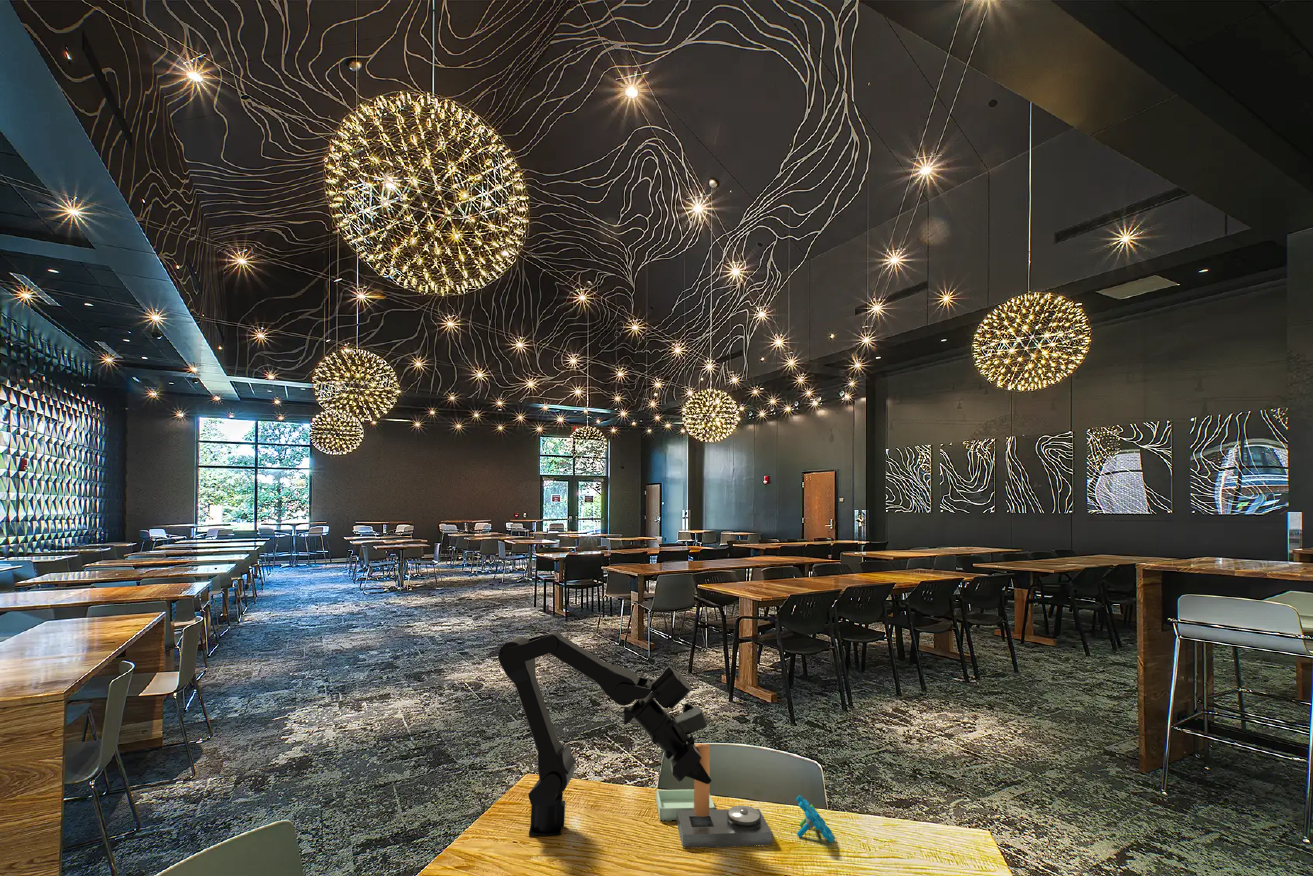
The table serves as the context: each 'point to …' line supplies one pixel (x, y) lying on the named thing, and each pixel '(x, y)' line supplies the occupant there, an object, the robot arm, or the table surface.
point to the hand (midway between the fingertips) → (708, 778)
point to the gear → (812, 820)
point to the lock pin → (702, 784)
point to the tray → (676, 803)
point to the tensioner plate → (724, 828)
